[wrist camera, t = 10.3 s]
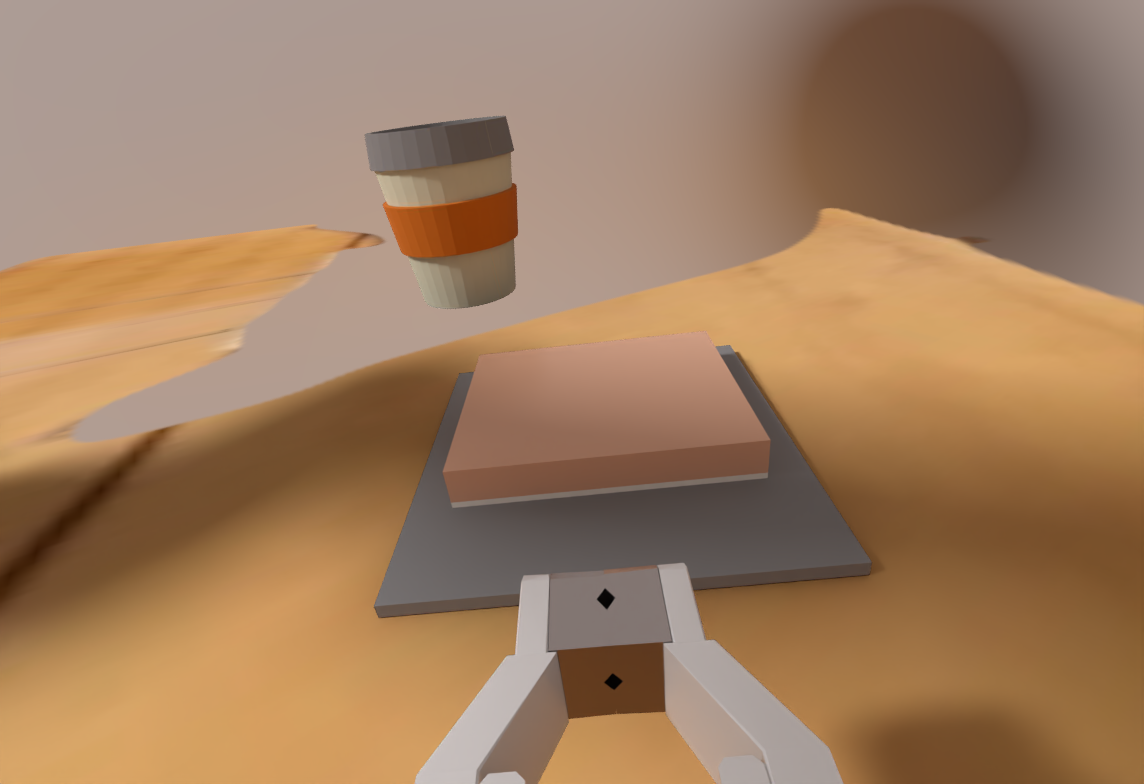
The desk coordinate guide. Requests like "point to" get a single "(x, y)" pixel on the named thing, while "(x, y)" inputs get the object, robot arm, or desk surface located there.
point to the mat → (619, 529)
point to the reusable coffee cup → (451, 206)
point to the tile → (602, 422)
